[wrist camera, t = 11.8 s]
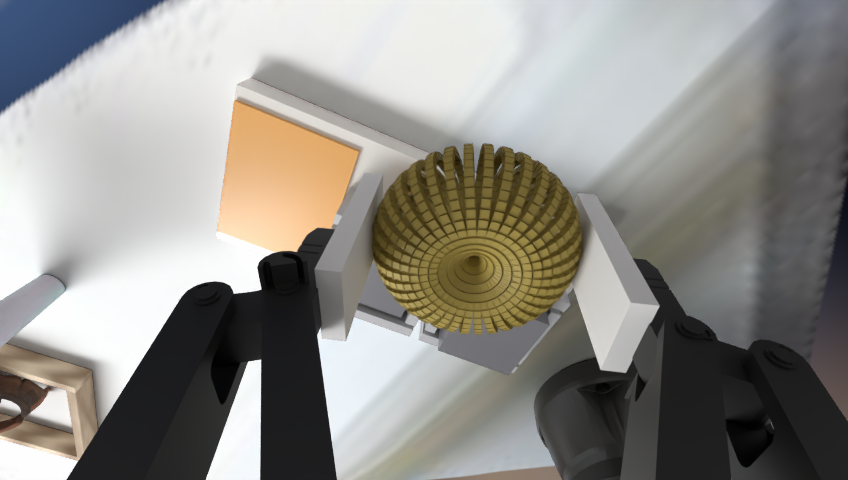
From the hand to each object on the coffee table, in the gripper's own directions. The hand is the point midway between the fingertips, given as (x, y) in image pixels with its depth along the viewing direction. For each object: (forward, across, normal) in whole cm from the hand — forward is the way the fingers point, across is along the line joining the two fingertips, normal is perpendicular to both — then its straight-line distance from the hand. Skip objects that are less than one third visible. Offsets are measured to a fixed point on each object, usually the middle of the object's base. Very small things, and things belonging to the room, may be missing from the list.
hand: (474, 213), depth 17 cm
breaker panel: (+13, +4, +9) cm, 17 cm away
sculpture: (+1, 0, 0) cm, 1 cm away
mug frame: (+13, +51, +39) cm, 66 cm away
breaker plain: (+9, -3, +13) cm, 16 cm away
